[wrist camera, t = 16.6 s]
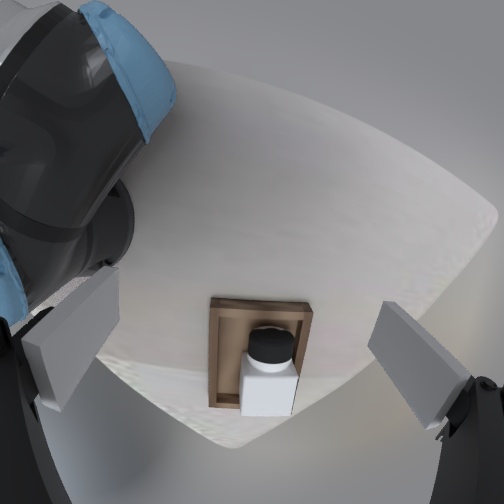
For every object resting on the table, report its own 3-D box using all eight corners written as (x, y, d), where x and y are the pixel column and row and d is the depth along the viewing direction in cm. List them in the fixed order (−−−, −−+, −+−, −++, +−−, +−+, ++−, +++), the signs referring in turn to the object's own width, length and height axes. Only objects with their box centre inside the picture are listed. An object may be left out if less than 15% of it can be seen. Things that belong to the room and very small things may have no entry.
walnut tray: (209, 394, 43) (208, 407, 40) (211, 297, 38) (209, 307, 35) (288, 397, 44) (291, 408, 41) (308, 302, 39) (313, 312, 36)
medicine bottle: (291, 416, 34) (305, 343, 33) (240, 417, 34) (246, 342, 32) (283, 389, 41) (293, 322, 40) (238, 388, 41) (244, 320, 39)
